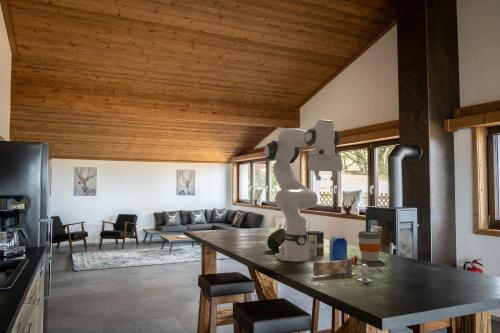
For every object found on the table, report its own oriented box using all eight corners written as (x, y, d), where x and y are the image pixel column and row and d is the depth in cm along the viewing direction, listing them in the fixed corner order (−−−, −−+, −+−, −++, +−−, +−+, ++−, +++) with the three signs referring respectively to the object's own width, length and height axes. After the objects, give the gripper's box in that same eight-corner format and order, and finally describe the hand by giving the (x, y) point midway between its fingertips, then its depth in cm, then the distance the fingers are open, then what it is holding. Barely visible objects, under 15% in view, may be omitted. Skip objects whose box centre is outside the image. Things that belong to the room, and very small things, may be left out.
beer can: (334, 272, 182) (334, 238, 183) (326, 268, 190) (326, 236, 191) (350, 271, 184) (350, 237, 185) (341, 267, 192) (341, 235, 193)
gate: (349, 272, 179) (349, 258, 180) (353, 273, 177) (352, 259, 177) (312, 275, 172) (312, 261, 172) (316, 276, 170) (315, 262, 170)
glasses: (355, 264, 203) (355, 254, 203) (387, 267, 194) (387, 257, 194) (347, 268, 191) (347, 258, 191) (381, 273, 182) (381, 262, 183)
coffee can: (322, 254, 228) (322, 231, 228) (325, 258, 217) (325, 233, 218) (305, 254, 228) (305, 230, 229) (307, 257, 218) (307, 233, 218)
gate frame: (339, 273, 179) (339, 258, 179) (350, 272, 181) (350, 257, 181) (363, 282, 162) (363, 266, 162) (375, 281, 164) (375, 265, 165)
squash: (260, 243, 234) (276, 225, 232) (266, 241, 249) (281, 224, 247) (276, 260, 230) (293, 242, 228) (282, 256, 245) (297, 239, 243)
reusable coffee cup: (377, 262, 205) (376, 234, 206) (354, 259, 213) (354, 232, 213) (384, 259, 215) (384, 232, 216) (363, 256, 223) (362, 230, 223)
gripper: (336, 153, 194) (336, 180, 193) (305, 151, 183) (305, 180, 182) (345, 152, 189) (345, 180, 188) (314, 150, 178) (314, 180, 177)
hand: (325, 180), depth 185 cm, fingers open, 8 cm apart
